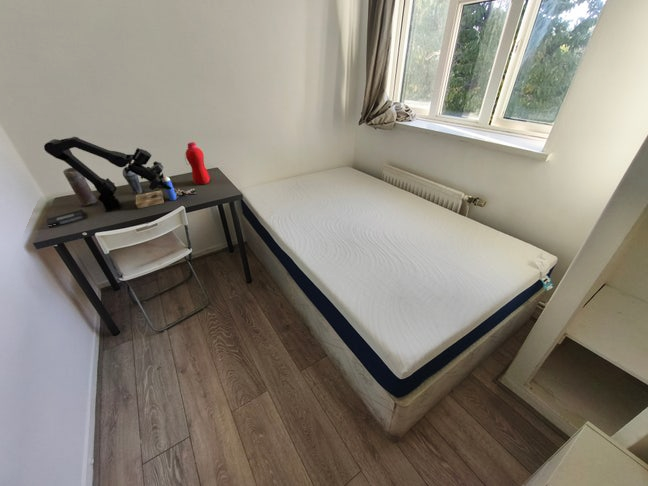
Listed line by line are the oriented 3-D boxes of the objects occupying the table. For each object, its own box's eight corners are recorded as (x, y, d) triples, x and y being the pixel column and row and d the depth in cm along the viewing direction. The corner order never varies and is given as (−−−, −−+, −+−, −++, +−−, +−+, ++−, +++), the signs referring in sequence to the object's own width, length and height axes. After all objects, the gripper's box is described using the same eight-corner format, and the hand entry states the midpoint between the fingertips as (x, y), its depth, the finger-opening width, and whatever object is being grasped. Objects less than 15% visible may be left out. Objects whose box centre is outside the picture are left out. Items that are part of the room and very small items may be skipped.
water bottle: (194, 180, 180) (182, 141, 165) (211, 179, 181) (200, 140, 166) (190, 185, 172) (177, 145, 158) (208, 184, 173) (196, 144, 158)
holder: (138, 208, 149) (135, 203, 147) (138, 199, 157) (136, 195, 156) (164, 202, 154) (162, 198, 152) (163, 194, 162) (161, 190, 161)
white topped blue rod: (169, 201, 156) (161, 178, 148) (169, 198, 158) (160, 176, 151) (177, 199, 157) (169, 177, 149) (176, 196, 160) (168, 174, 152)
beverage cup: (133, 196, 161) (117, 163, 150) (130, 192, 166) (114, 159, 154) (146, 192, 165) (132, 160, 153) (143, 188, 170) (129, 156, 158)
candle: (96, 199, 159) (78, 166, 147) (99, 203, 154) (80, 169, 143) (80, 203, 154) (60, 169, 142) (83, 208, 150) (62, 173, 138)
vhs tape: (84, 218, 141) (82, 214, 140) (49, 228, 134) (47, 224, 133) (83, 212, 146) (81, 209, 145) (49, 222, 139) (47, 218, 137)
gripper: (147, 164, 136) (178, 182, 145) (151, 153, 150) (180, 170, 159) (135, 182, 138) (167, 198, 148) (141, 169, 152) (170, 184, 162)
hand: (171, 187), depth 154 cm, fingers closed on white topped blue rod, 4 cm apart
